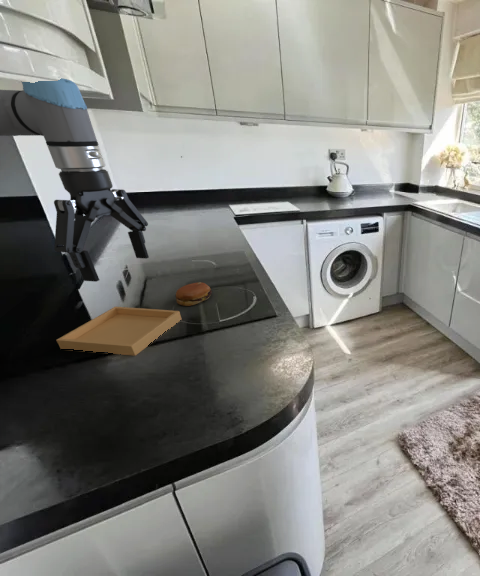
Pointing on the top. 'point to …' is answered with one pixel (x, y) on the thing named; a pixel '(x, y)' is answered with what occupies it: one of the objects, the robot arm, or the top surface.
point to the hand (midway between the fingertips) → (119, 268)
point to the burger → (193, 294)
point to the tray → (120, 330)
